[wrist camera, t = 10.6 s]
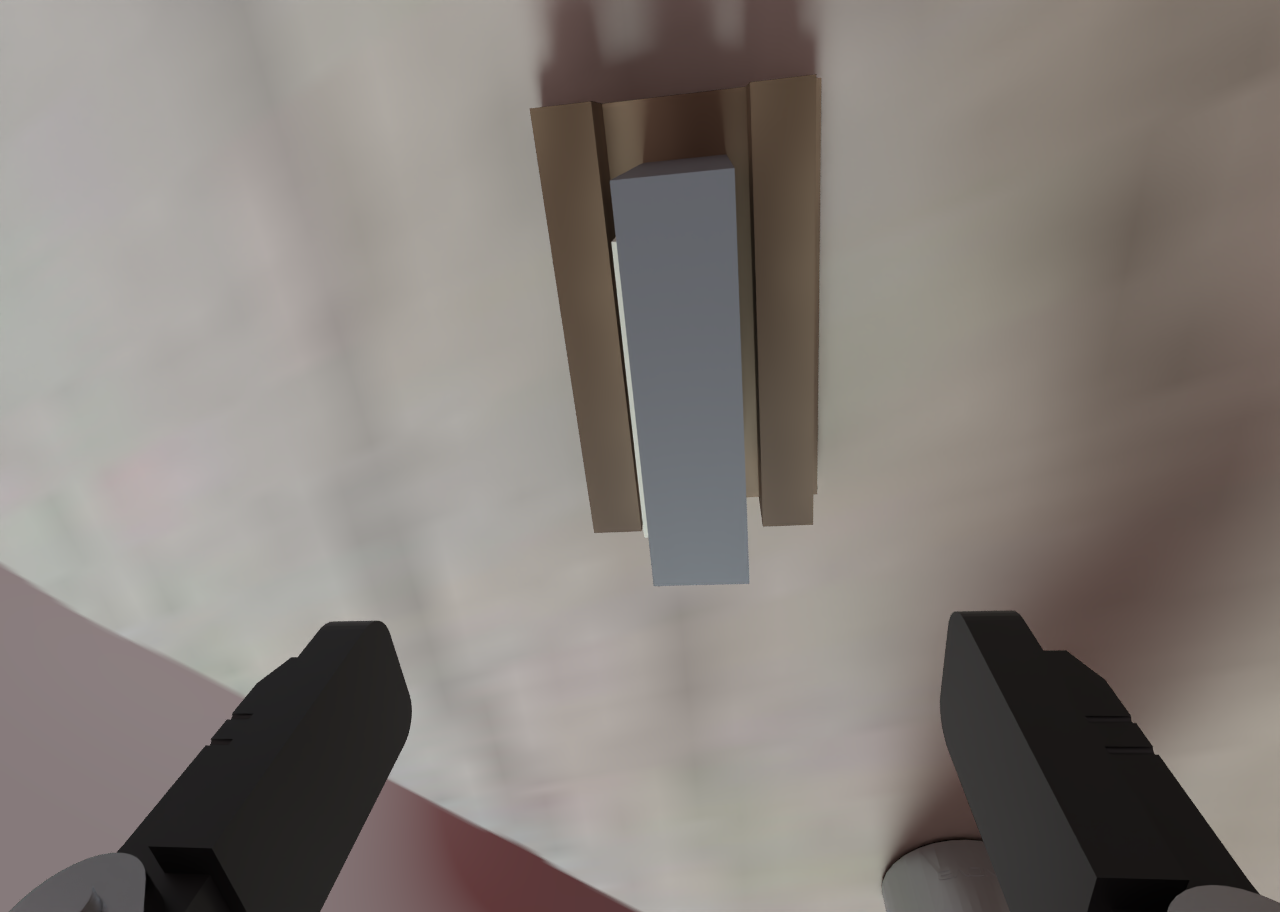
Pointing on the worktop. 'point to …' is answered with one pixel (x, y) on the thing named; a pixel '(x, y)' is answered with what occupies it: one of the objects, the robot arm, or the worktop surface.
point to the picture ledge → (767, 271)
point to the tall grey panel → (684, 364)
